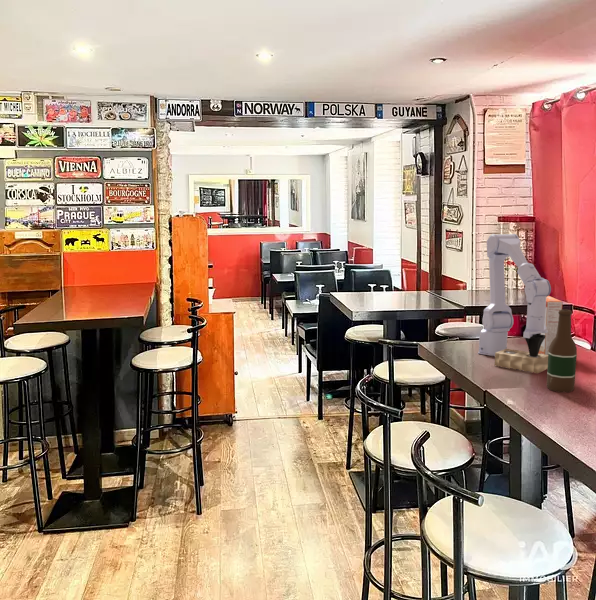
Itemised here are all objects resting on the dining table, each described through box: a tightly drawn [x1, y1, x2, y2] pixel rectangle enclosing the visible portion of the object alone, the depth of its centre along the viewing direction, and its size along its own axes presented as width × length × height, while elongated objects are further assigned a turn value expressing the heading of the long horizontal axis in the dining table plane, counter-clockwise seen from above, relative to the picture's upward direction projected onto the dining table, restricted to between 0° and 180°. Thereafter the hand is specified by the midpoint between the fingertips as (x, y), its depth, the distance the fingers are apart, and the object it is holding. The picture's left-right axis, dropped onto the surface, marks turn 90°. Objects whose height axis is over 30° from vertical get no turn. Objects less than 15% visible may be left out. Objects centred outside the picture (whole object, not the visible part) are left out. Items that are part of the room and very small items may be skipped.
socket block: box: [494, 348, 548, 374], centre depth 221 cm, size 15×9×4 cm, turn 49°
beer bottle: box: [546, 308, 578, 393], centre depth 194 cm, size 8×8×24 cm
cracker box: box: [538, 295, 564, 355], centre depth 240 cm, size 14×6×21 cm, turn 178°
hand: (533, 356), depth 218 cm, fingers closed, pressing on peg
